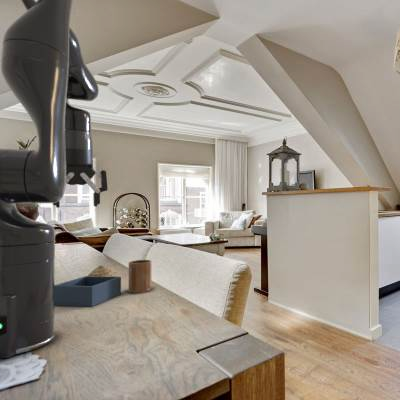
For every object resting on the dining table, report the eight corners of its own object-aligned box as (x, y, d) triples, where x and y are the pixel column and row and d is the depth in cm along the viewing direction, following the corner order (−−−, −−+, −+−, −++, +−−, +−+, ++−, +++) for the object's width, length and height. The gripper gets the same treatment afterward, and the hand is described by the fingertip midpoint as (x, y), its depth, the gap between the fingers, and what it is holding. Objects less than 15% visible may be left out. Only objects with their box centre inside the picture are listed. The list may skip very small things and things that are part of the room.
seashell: (123, 269, 104) (108, 264, 97) (119, 286, 102) (103, 282, 94) (100, 269, 105) (83, 263, 97) (95, 286, 102) (77, 282, 95)
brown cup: (143, 293, 84) (143, 263, 84) (123, 292, 84) (123, 263, 84) (155, 287, 89) (155, 259, 89) (136, 287, 90) (136, 259, 90)
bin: (92, 306, 73) (92, 286, 73) (51, 305, 74) (52, 285, 74) (120, 294, 83) (121, 276, 83) (85, 293, 84) (85, 276, 84)
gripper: (42, 145, 78) (44, 209, 79) (108, 149, 87) (109, 207, 88) (42, 146, 83) (44, 206, 85) (104, 150, 92) (105, 204, 94)
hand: (77, 206), depth 86 cm, fingers open, 8 cm apart
